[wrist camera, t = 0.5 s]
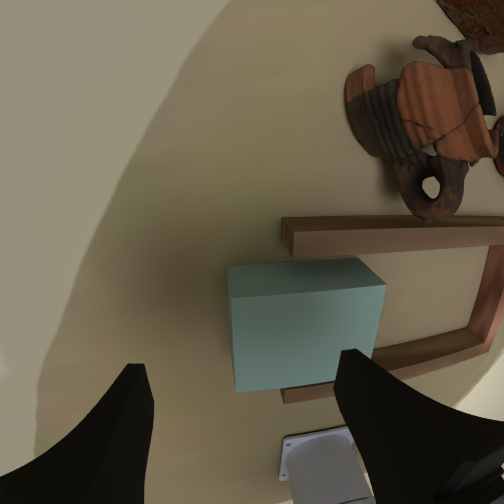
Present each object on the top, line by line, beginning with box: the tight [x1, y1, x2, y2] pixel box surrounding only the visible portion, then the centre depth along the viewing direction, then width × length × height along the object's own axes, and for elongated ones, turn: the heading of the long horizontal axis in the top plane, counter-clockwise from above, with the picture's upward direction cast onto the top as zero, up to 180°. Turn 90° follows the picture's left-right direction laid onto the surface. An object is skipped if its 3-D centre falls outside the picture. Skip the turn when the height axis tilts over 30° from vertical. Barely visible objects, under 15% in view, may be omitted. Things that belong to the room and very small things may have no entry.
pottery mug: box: [346, 35, 499, 223], centre depth 16 cm, size 12×10×8 cm
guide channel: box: [280, 215, 504, 404], centre depth 22 cm, size 13×22×3 cm, turn 91°
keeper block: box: [227, 258, 387, 393], centre depth 20 cm, size 7×9×4 cm
